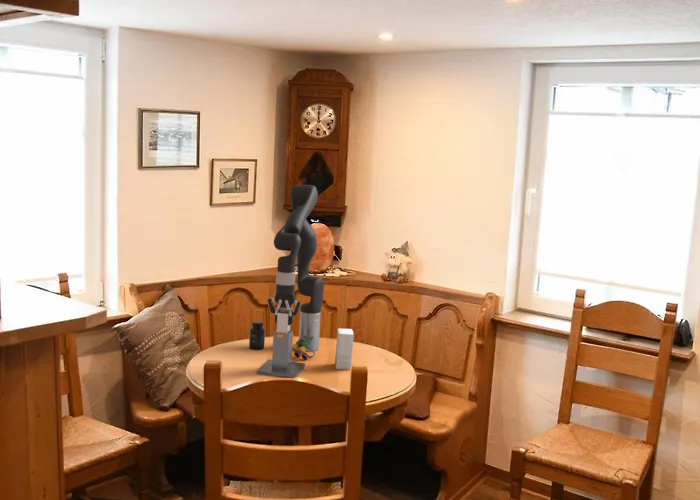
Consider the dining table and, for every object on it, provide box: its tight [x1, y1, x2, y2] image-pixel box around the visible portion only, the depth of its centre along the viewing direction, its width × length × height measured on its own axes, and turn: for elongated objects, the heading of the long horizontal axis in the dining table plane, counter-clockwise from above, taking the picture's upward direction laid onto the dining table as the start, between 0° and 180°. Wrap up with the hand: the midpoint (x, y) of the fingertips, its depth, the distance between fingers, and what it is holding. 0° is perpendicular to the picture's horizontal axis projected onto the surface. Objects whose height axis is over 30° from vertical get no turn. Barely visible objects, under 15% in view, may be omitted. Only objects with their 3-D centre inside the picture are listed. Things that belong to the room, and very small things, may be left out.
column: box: [276, 308, 291, 334], centre depth 288 cm, size 5×5×21 cm
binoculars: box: [292, 335, 316, 361], centre depth 308 cm, size 9×9×10 cm
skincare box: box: [334, 328, 355, 371], centre depth 299 cm, size 8×7×16 cm
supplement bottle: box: [248, 320, 266, 351], centre depth 318 cm, size 7×7×12 cm
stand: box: [256, 330, 306, 379], centre depth 289 cm, size 16×16×16 cm
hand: (283, 324), depth 287 cm, fingers closed on column, 4 cm apart
